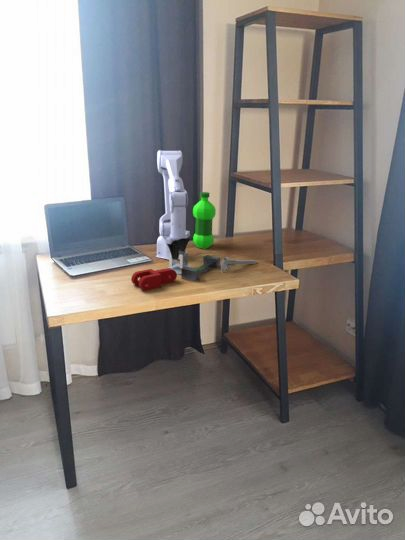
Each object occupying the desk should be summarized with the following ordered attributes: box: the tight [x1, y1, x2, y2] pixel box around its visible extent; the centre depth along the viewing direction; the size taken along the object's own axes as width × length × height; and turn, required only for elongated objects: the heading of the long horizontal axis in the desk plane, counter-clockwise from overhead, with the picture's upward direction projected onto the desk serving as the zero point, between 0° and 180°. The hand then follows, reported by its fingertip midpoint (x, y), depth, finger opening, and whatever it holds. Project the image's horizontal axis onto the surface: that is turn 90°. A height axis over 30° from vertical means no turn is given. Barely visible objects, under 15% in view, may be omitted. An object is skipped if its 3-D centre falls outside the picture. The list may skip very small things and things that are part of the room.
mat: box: [167, 263, 194, 276], centre depth 177 cm, size 8×10×1 cm
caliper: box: [220, 256, 258, 273], centre depth 181 cm, size 20×1×6 cm, turn 132°
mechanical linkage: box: [130, 267, 178, 292], centre depth 161 cm, size 16×7×5 cm, turn 125°
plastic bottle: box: [192, 191, 217, 250], centre depth 203 cm, size 10×10×25 cm
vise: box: [180, 254, 221, 282], centre depth 174 cm, size 6×20×4 cm, turn 151°
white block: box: [168, 251, 189, 268], centre depth 176 cm, size 6×4×6 cm, turn 61°
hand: (177, 257), depth 176 cm, fingers closed on white block, 4 cm apart
